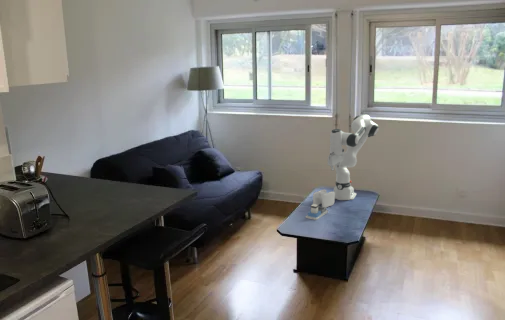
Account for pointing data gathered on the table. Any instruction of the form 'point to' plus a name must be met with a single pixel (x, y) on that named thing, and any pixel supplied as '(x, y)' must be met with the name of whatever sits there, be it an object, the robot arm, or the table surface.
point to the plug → (314, 208)
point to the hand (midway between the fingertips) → (335, 168)
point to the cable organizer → (324, 198)
